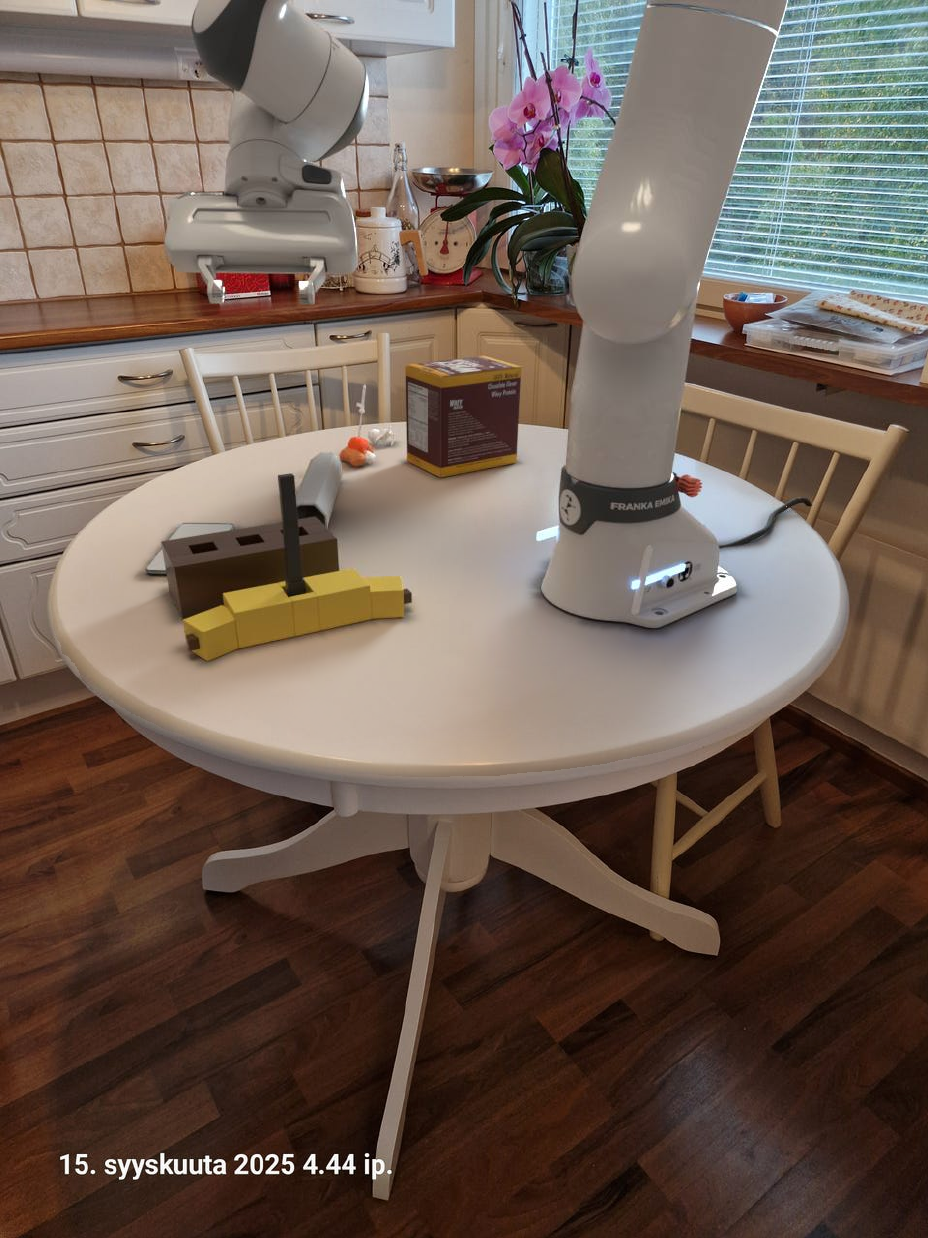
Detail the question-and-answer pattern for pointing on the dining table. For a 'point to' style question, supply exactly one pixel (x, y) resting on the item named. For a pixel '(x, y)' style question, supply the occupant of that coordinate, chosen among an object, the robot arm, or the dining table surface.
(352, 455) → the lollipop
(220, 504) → the dining table surface
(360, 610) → the banana
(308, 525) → the cutlery block
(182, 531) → the smartphone
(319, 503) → the tube
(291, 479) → the dark grey stepped rod
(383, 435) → the white bird figurine
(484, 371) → the supplement box
